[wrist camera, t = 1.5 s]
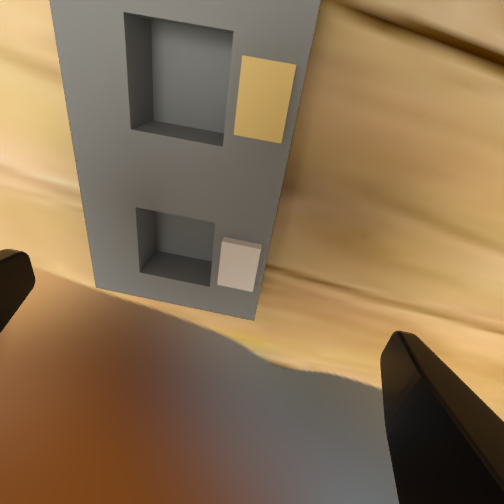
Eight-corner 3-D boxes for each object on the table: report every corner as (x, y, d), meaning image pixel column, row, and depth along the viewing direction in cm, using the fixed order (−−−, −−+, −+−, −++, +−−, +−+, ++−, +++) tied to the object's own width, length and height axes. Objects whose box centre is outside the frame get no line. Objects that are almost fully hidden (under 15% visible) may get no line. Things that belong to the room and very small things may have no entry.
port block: (321, -8, 13) (326, -28, 10) (259, 290, 21) (252, 326, 18) (88, -46, 13) (27, -77, 10) (120, 261, 22) (91, 292, 19)
